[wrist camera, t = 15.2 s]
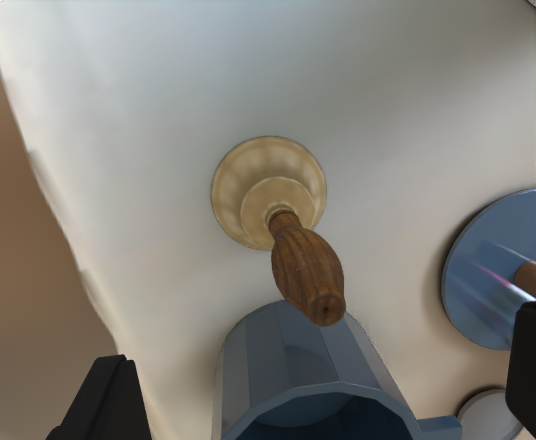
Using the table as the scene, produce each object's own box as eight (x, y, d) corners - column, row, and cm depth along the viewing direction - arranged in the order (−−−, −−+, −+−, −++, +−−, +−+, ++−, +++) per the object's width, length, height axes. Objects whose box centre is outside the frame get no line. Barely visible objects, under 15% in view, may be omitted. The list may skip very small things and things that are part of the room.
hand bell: (288, 111, 25) (374, 120, 10) (346, 210, 28) (486, 338, 12) (187, 178, 26) (121, 281, 11) (252, 268, 28) (274, 458, 13)
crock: (172, 312, 29) (144, 407, 20) (403, 285, 30) (477, 362, 21) (195, 442, 33) (181, 571, 24) (399, 413, 34) (460, 526, 25)
